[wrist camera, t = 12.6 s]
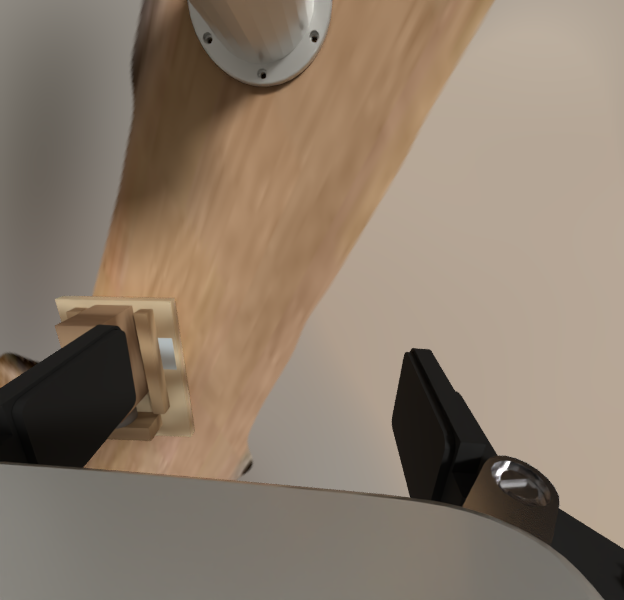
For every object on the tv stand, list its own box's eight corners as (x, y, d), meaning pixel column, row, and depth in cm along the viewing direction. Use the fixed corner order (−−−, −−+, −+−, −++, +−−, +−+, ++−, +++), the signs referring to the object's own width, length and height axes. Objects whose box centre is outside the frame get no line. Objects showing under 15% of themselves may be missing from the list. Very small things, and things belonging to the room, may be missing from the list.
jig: (62, 295, 39) (33, 308, 35) (174, 298, 39) (157, 311, 35) (99, 427, 46) (77, 449, 42) (194, 430, 46) (182, 454, 42)
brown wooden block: (95, 304, 38) (54, 325, 33) (132, 305, 38) (97, 326, 32) (119, 402, 43) (87, 435, 37) (151, 403, 43) (124, 437, 37)
